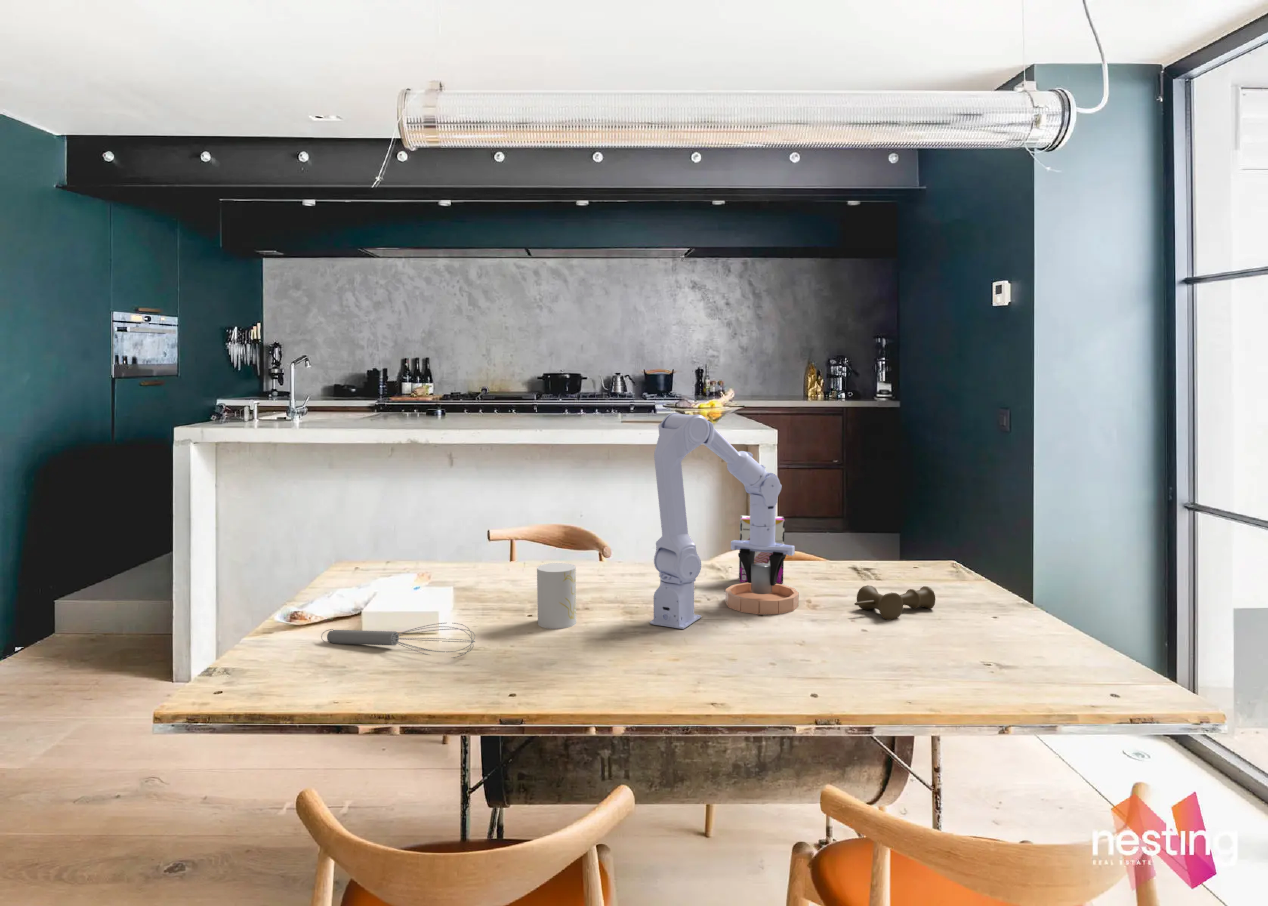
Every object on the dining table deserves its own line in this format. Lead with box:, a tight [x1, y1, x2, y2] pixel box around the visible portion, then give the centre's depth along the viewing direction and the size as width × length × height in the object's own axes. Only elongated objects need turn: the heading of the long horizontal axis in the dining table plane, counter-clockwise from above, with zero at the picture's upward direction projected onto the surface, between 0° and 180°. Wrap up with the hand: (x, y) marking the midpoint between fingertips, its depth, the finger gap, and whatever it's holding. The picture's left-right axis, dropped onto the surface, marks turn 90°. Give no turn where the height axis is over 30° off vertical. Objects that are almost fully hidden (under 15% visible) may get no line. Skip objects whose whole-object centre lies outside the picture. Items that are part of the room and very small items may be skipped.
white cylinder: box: [536, 562, 577, 630], centre depth 175 cm, size 8×8×12 cm
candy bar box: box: [738, 515, 786, 584], centre depth 209 cm, size 11×5×16 cm, turn 84°
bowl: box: [724, 582, 800, 615], centre depth 189 cm, size 16×16×3 cm
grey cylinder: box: [751, 563, 772, 594], centre depth 188 cm, size 5×5×6 cm
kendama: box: [854, 584, 936, 621], centre depth 182 cm, size 6×10×20 cm
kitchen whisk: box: [320, 622, 476, 659], centre depth 159 cm, size 6×34×6 cm, turn 73°
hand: (761, 583), depth 188 cm, fingers closed on grey cylinder, 5 cm apart
